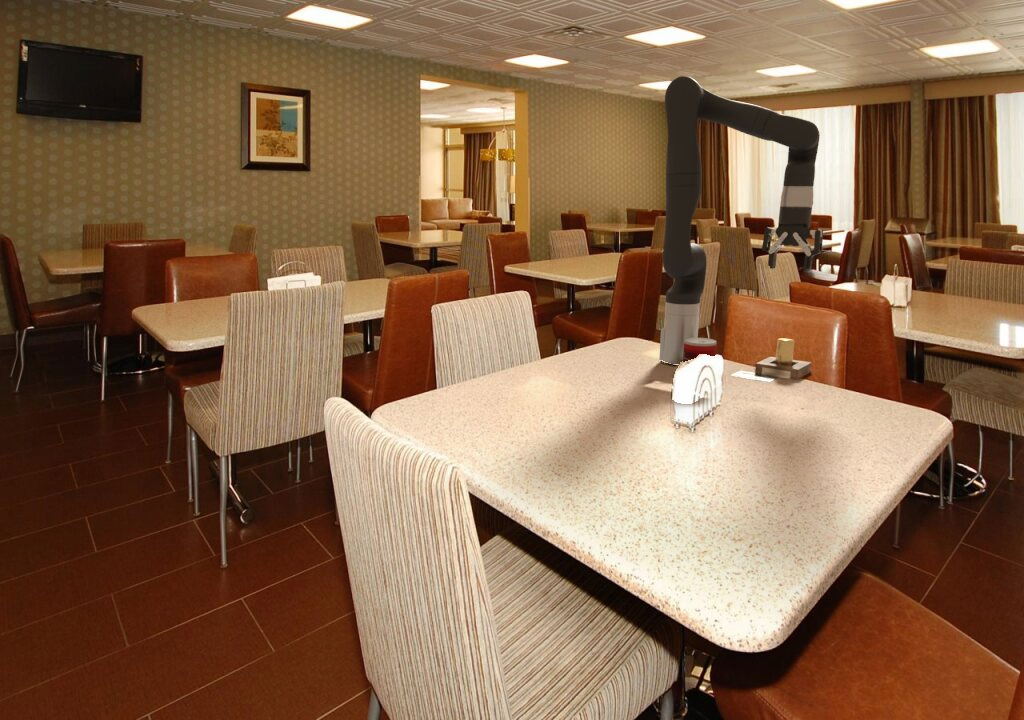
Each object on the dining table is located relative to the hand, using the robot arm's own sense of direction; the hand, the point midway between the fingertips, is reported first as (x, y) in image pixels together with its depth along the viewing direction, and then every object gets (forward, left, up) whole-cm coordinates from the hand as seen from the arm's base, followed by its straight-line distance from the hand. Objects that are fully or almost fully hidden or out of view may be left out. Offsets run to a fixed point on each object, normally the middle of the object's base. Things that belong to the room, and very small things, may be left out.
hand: (789, 269), depth 173 cm
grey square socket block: (+3, -6, -27) cm, 28 cm away
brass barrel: (+3, -6, -27) cm, 28 cm away
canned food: (-11, -26, -28) cm, 39 cm away
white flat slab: (-1, -15, -27) cm, 31 cm away
